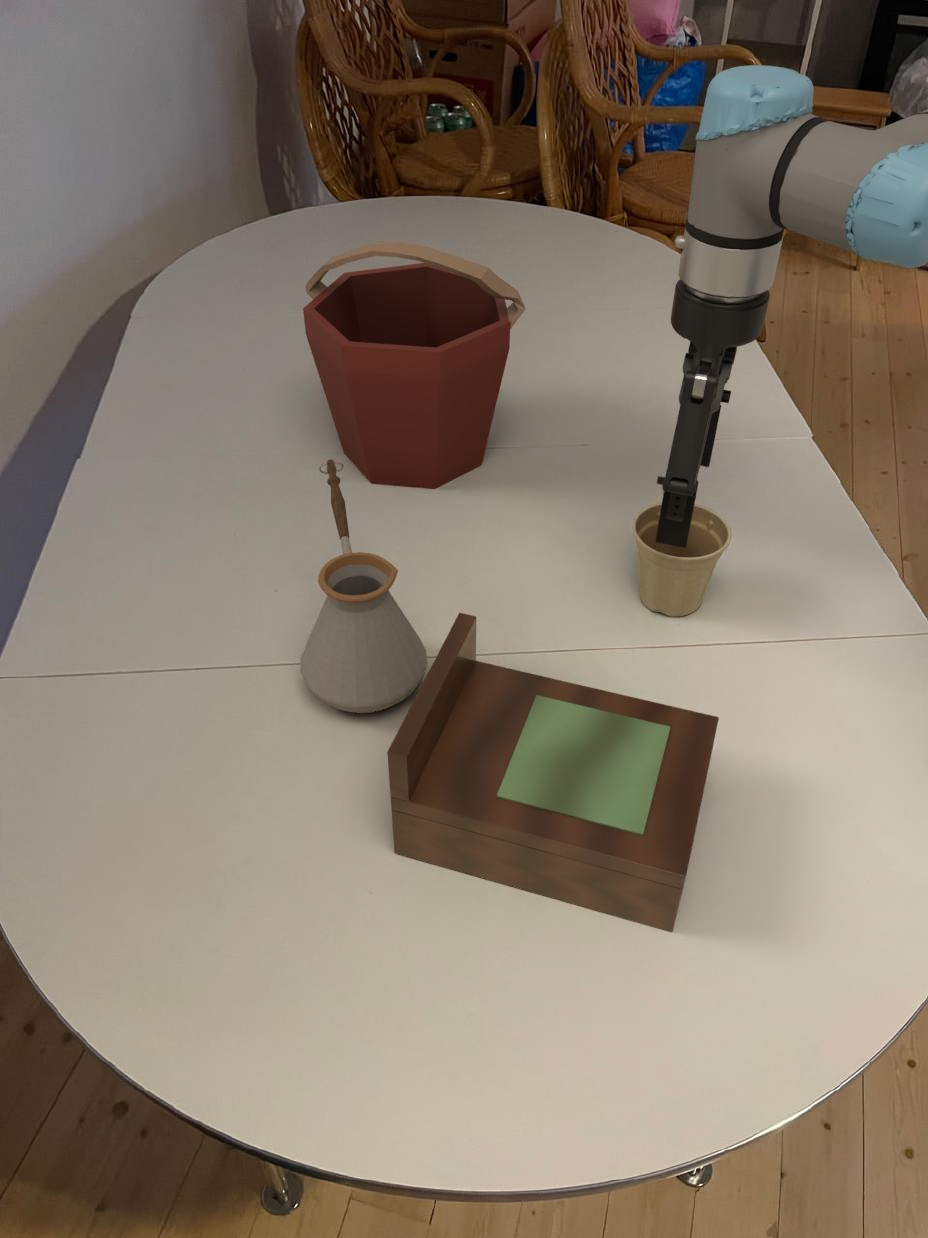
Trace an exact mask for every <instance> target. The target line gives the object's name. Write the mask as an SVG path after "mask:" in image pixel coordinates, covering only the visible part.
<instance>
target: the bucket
mask: <svg viewBox="0 0 928 1238" xmlns="http://www.w3.org/2000/svg"><path fill="white" fill-rule="evenodd" d="M374 257H385V258H386V257H387V258H388V257H389V258H398V259H399V258H400V259H405V260H412V261H416V262H420V263H412V264H403V265H396V266H387V267H379V268H371V269H363V270H356V271H349V272H348V271H347V272H346V271H345V272H343V273H342V274H341V275H339V277H337V278H336V279H335V280H334V281H333V282H332V283H331V284H329V285H328V286H327V285H326V284H324V282H322V279H323V278H324V277H325V275H326V274H327V273H328V272H329V271H332V270H334V269H337V268H339V267H341V266H343V265H345V264H346V265H347V264H350V263H353V262H356V261H361V260H364V259H369V258H374ZM304 288H305V292H306V294H307V295H308V296H309V297H310V298H311V299H312V300H311V301H310V302H308V304H306V305H305V306H304V307H303V308H302V311H303V313H302V314H303V320H304V321H303V322H304V330H305V336H306V339H307V343H308V345H309V348H310V352H311V355H312V358H313V360H314V365H315V367H316V371H317V373H318V377H319V379H320V383H321V386H322V389H323V392H324V395H325V398H326V401H327V404H328V408H329V412H330V414H331V416H332V421H333V424H334V426H335V429H336V433H337V436H338V439H339V442H340V445H341V448H342V452H343V454H344V455H345V457H346V458H348V459H349V461H350V462H351V463H352V464H353V465H354V466H355V467H356V469H358V471H360V473H361V474H362V475H363V476H364V477H365V478H366V479H367V481H369V483H370V484H373V485H386V486H399V487H408V488H420V489H432V490H435V489H437V488H439V487H441V486H443V485H445V484H447V483H449V482H451V481H453V480H456V479H457V478H459V477H460V476H463V475H464V474H466V473H468V472H470V471H472V470H474V469H476V468H478V467H480V466H482V465H483V460H484V457H485V453H486V449H487V444H488V442H489V441H488V440H489V436H490V431H491V427H492V424H493V420H494V415H495V411H496V407H497V403H498V398H499V394H500V390H501V387H502V386H501V385H502V382H503V377H504V373H505V370H506V365H507V361H508V356H509V353H510V347H511V330H512V328H513V327H514V325H516V323H517V322H518V321H519V319H520V318H521V316H522V315H523V314H524V312H525V311H526V310H527V308H526V306H525V304H524V302H523V300H522V298H521V295H520V292H519V291H518V289H516V288H515V287H514V286H512V285H511V284H510V283H509V282H507V281H505V280H504V279H502V278H501V277H500V276H498V275H497V274H496V273H495V272H494V271H493V270H492V269H491V268H490V267H488V266H485V265H482V264H480V263H477V262H474V261H471V260H468V259H466V258H463V257H460V256H457V255H455V254H451V253H449V252H445V251H443V250H439V249H435V248H433V247H428V246H423V245H418V244H413V243H408V242H400V241H399V242H398V241H386V240H385V241H383V240H381V241H378V242H374V243H369V244H365V245H362V246H359V247H355V248H352V249H349V250H347V251H346V252H343V253H340V254H338V255H334V256H332V257H330V258H329V259H328V261H326V262H324V264H322V265H321V266H320V267H319V268H318V269H317V270H316V272H314V274H313V275H312V276H311V277H310V278H309V280H308V281H307V282H306V283H305V285H304ZM506 300H507V301H512V303H510V305H509V306H508V307H507V302H506Z"/></svg>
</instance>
